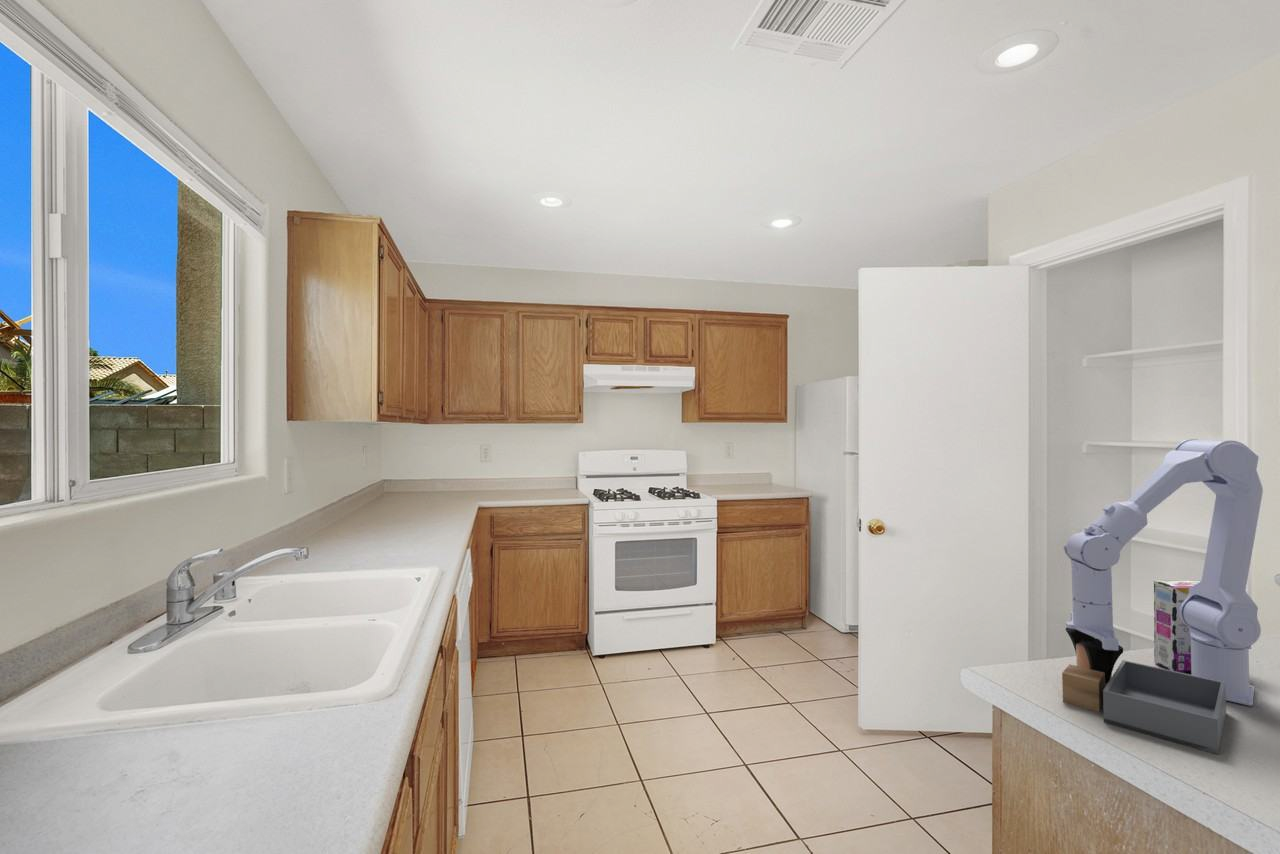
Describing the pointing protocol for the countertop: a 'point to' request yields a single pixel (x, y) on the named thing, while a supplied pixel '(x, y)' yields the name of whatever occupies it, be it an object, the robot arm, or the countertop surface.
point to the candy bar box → (1171, 626)
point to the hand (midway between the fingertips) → (1094, 675)
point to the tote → (1167, 705)
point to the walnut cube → (1083, 687)
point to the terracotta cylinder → (1083, 657)
